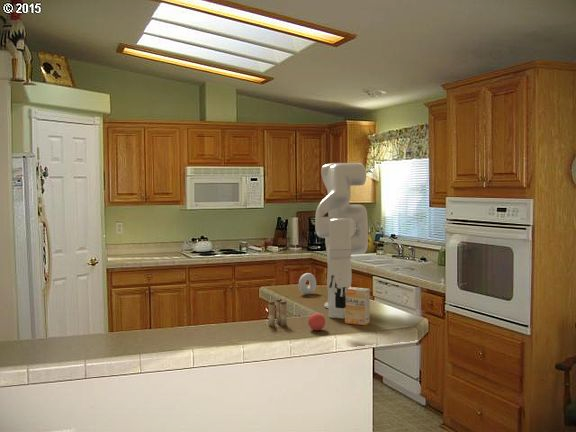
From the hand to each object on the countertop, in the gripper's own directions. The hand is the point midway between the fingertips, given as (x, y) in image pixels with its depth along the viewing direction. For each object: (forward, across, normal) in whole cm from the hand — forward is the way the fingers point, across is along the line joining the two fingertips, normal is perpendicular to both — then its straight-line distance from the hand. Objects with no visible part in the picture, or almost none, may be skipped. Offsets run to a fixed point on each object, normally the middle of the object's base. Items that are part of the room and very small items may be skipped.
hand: (340, 307), depth 204 cm
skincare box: (+9, -22, -13) cm, 27 cm away
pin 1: (+9, +2, -27) cm, 29 cm away
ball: (+6, -1, -10) cm, 12 cm away
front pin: (+9, -1, -24) cm, 26 cm away
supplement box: (+9, -17, -2) cm, 19 cm away
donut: (+8, -55, -46) cm, 72 cm away
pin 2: (+9, -3, -27) cm, 29 cm away
